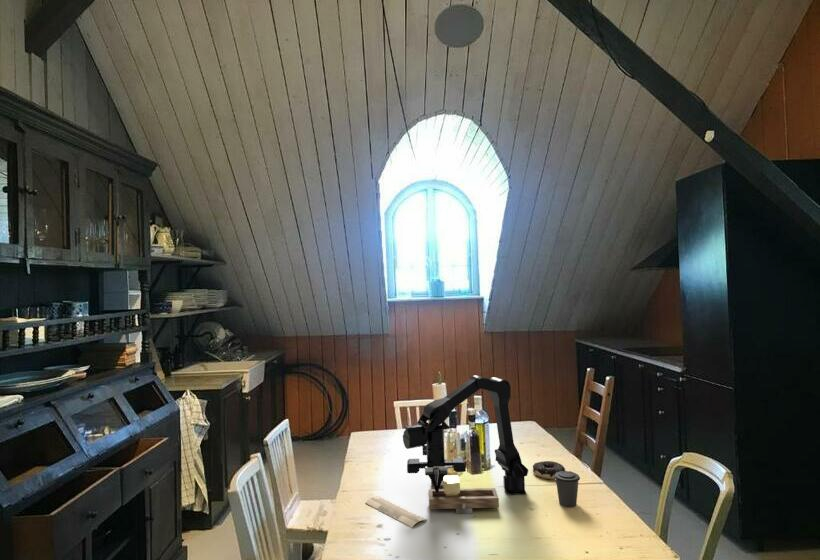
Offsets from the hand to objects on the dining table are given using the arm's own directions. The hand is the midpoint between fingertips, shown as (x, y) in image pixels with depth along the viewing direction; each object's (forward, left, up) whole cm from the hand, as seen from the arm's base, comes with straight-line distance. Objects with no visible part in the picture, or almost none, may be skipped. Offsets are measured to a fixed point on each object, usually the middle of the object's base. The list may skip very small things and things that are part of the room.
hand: (437, 491), depth 164 cm
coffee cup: (-42, -1, -6) cm, 43 cm away
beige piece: (+14, +3, -6) cm, 16 cm away
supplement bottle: (-1, -18, -6) cm, 19 cm away
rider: (-5, 0, -2) cm, 5 cm away
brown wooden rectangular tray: (-8, 0, -5) cm, 10 cm away
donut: (-42, -26, -6) cm, 50 cm away
